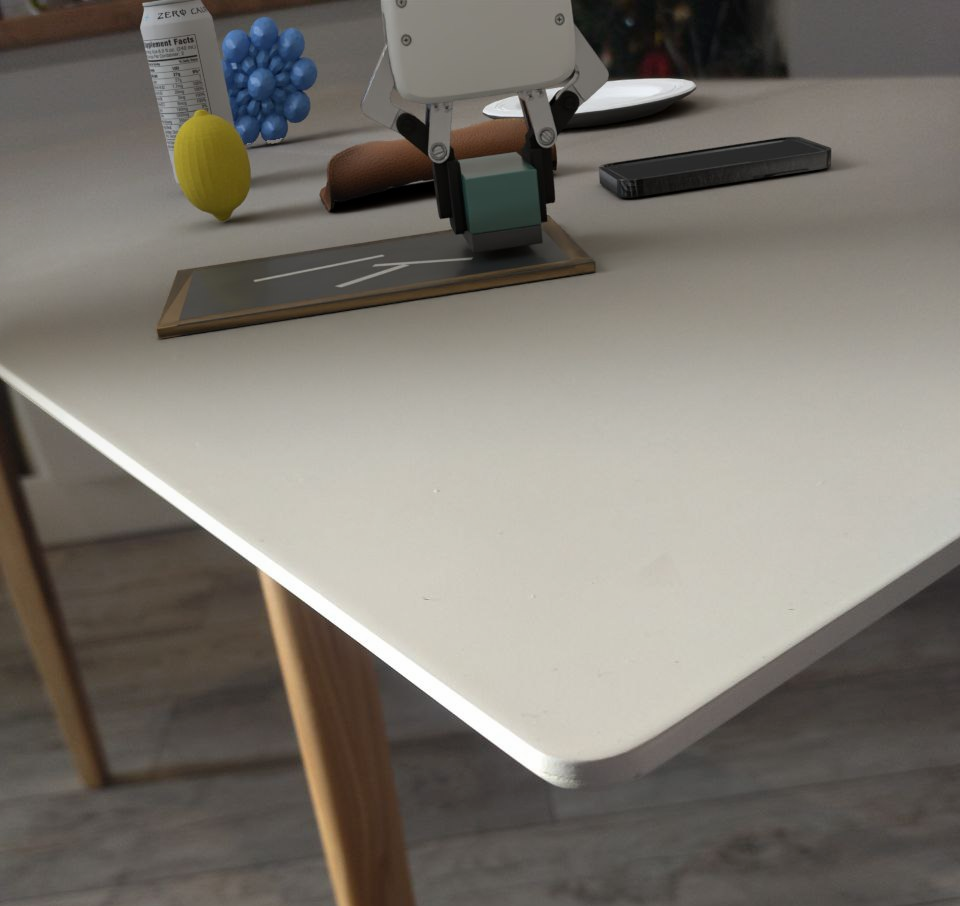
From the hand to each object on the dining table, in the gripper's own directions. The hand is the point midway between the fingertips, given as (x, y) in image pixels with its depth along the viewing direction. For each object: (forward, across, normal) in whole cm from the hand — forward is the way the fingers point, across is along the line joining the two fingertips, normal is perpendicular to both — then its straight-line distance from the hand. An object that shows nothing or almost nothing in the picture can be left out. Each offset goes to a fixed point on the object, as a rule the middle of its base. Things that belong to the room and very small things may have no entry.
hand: (497, 220), depth 72 cm
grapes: (+2, +14, -68) cm, 69 cm away
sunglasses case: (+2, +1, -27) cm, 27 cm away
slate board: (+2, +8, 0) cm, 8 cm away
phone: (+2, -17, -14) cm, 23 cm away
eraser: (+1, 0, 0) cm, 1 cm away
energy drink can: (+2, +20, -43) cm, 47 cm away
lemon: (+2, +18, -25) cm, 31 cm away
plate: (+2, -17, -54) cm, 56 cm away
